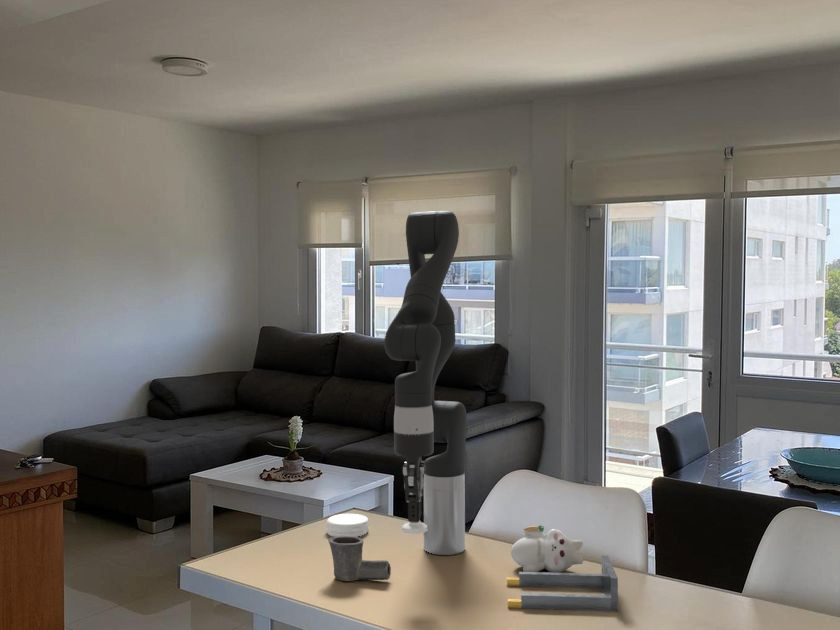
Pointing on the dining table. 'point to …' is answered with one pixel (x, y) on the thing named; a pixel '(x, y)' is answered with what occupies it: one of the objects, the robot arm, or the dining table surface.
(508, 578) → the bracket
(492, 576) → the dining table surface
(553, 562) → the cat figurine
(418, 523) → the chess piece
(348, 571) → the pipe
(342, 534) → the round white light
